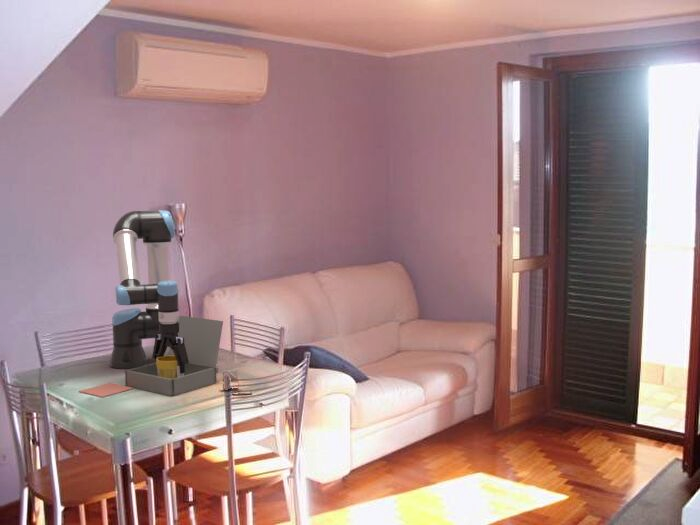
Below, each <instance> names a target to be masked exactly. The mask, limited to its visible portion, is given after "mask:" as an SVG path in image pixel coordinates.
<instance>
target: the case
mask: <svg viewBox="0 0 700 525" xmlns="http://www.w3.org/2000/svg"><path fill="white" fill-rule="evenodd" d="M177 322H179V332H178V337H179V338H182V337H184V344H185V348H186V352H187V356H188V360H189V363H187V364H185V373H184V376H181V377H178V378H174V379H169V378H164V377H159V376H158V369H157V366H156V362H153V363H150V364H146V365H144V366H140V367H135V368H128V369H126V370H125V369H124V370H125V371H124V373H125V374H124V375H125V376H124V380H125V386H127V387H132V388H134V389H136V390H142V391H146V392H151V393H156V394H160V395H163V396H164V395H165V396H169V397H175V396H178V395H182V394H185V393H188V392H192V391H194V390H195V391H196V390H198V389H202V388H205V387H208V386H212V385H215V384H217V369H218V368H217V366H218V365H217V363H218V357H219V351H220V345H221V340H222V339H221V337H222V331H223V324H224V321H223V320H218V319H210V318H208V319H207V318H201V317H195V316H187V315H179V321H177ZM175 346H176V345H175ZM168 355H174V352H173V350H172V349H171V348H170V347H169V350H168Z"/></svg>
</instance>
